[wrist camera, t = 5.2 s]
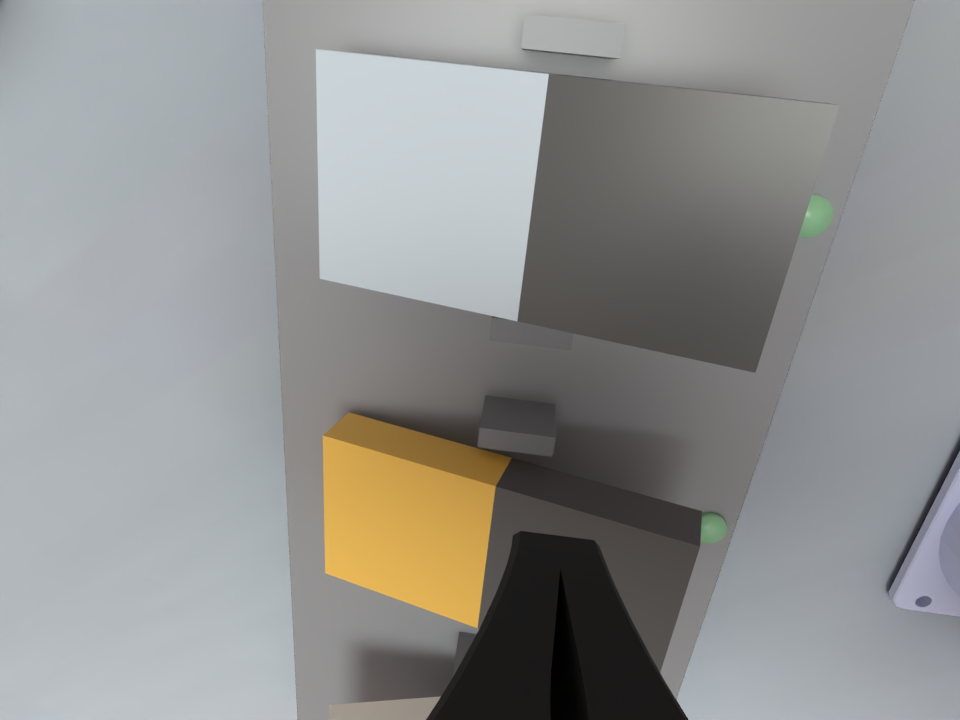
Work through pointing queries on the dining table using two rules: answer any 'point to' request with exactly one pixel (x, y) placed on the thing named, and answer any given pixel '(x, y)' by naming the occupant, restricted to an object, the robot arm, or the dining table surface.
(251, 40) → the dining table surface
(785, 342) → the rocker switch panel
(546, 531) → the block
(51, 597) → the dining table surface
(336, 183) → the rocker
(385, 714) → the rocker
